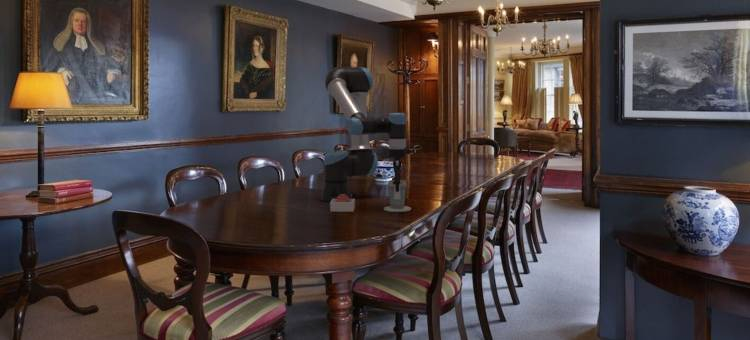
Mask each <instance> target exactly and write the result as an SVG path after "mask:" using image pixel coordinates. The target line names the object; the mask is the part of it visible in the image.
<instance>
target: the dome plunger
mask: <svg viewBox="0 0 750 340" xmlns="http://www.w3.org/2000/svg"><path fill="white" fill-rule="evenodd" d="M334 202H352V200H350V198H348V196H346V194H340V196H338V198H336V200H335V201H334Z"/></svg>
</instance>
